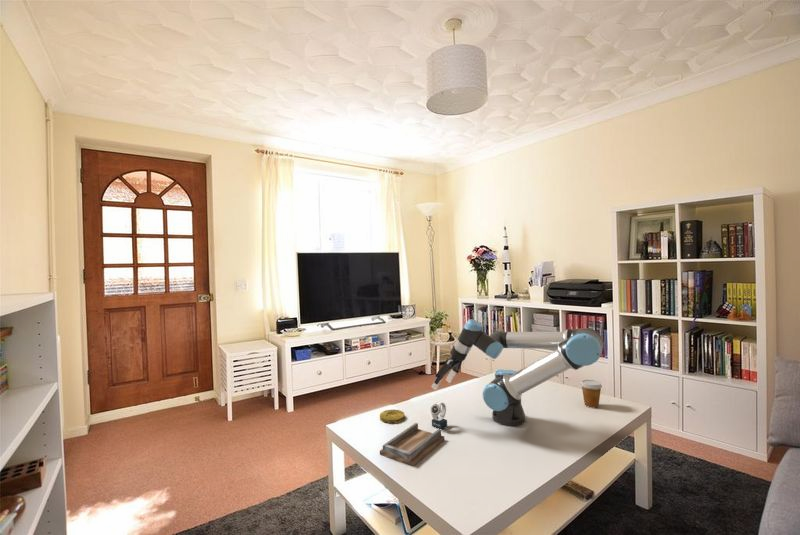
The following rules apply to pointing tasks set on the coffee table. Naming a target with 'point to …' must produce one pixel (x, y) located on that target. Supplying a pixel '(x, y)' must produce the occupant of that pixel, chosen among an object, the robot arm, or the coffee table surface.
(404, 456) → the wooden tray
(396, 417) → the olive yellow flat disc
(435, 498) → the coffee table surface
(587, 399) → the disposable coffee cup
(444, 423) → the watch
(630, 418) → the coffee table surface
